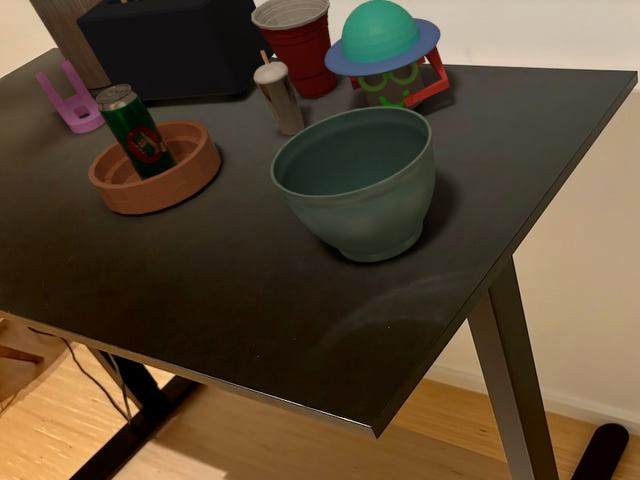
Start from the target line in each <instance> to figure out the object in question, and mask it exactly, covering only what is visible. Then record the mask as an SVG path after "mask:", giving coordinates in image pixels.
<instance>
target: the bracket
mask: <svg viewBox="0 0 640 480" xmlns="http://www.w3.org/2000/svg"><path fill="white" fill-rule="evenodd" d="M59 66H60V68H61V70H62V71H63V73H64V74H65V76H66V78H67V79H68V81H69V82H70V84H71V85H72V88H73V89H74V90H75V92H76V94H73V95H72V96H69V97H67V98H65V99H63V100H62V98H61V96H60V95H59V93H58V92H57V90H56V89H55V88H54V86H53V84H52V82H51V81H50V80H49V79H48V77H47V75H46V74H45V72H44V71H43V70H41V71H39V72H37V73H34V74H33V76H34V78H35V79H36V81H37V83H38V84H39V86H40V87H41V88H42V90H43V92H44V93H45V95H46V97H47V98H48V100H49V101H50V103H51V104H52V105H53V107H54V108H55V110H56V111H57V113H58V114H59V115H60V117H61V118H62V119H63V121H64V122H65V124H66V125H67V126H68V128H69V129H70V130H71V131H72V132H73V133H74V134H84V133H89V132H92V131H94V130H96V129H99V128H100V127H101V126H103V125H104V124H106V122H105V120H104V119H103V117H102V115H101V114H100V112H99V110H98V102H97V101H96V99H95V98H93V96H92V95H91V93H90V91H89V89H87V88H86V87H85V85H84V84H83V82H82V80H81V79H80V77H79V76H78V74H77V72H76V71H75V69H74V68H73V66H72V65H71V63H70V62H69V61H68V60H64V61H62V62H60V63H59ZM84 115H88V116H86V117H83V118H80V117H82V116H84Z"/></svg>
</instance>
